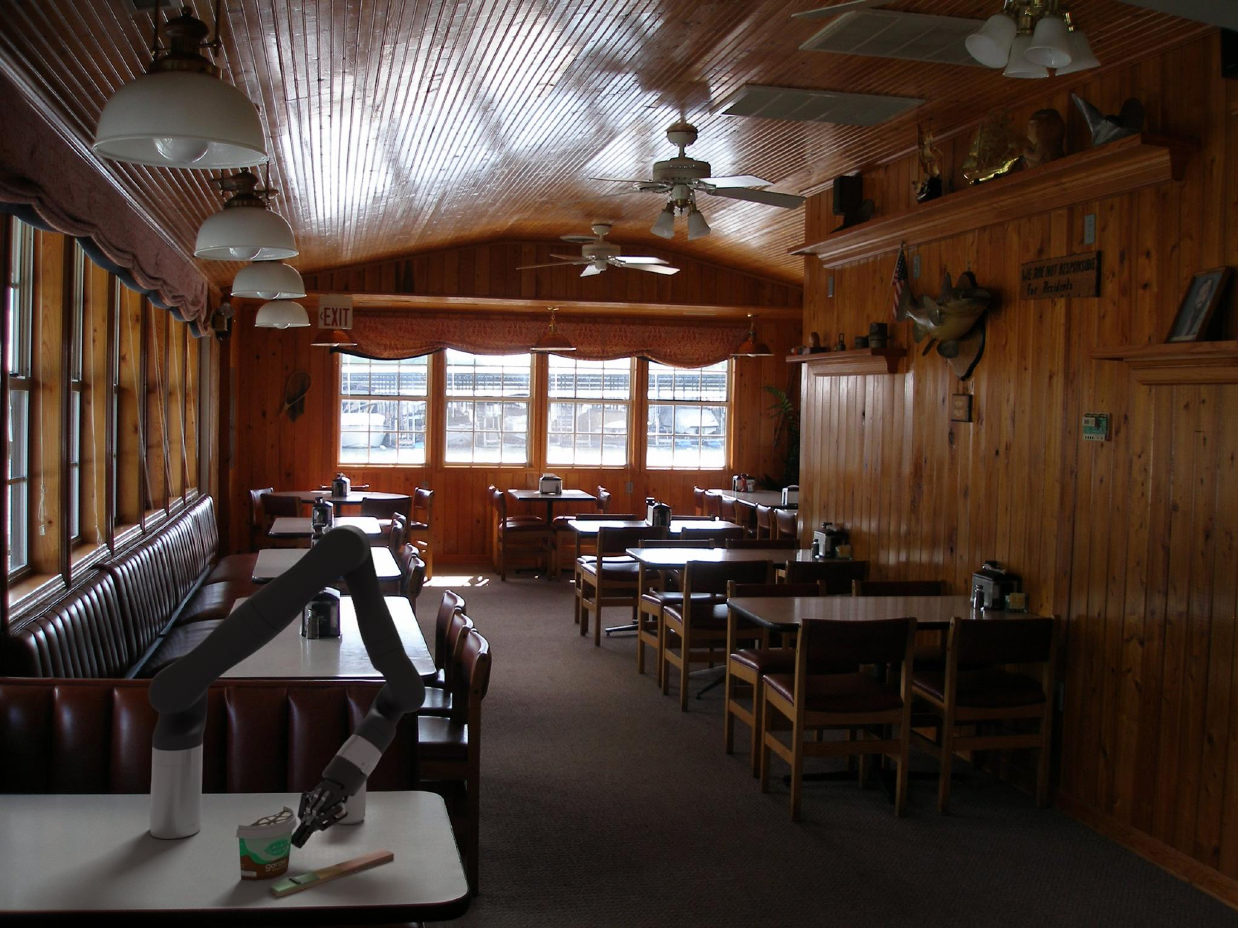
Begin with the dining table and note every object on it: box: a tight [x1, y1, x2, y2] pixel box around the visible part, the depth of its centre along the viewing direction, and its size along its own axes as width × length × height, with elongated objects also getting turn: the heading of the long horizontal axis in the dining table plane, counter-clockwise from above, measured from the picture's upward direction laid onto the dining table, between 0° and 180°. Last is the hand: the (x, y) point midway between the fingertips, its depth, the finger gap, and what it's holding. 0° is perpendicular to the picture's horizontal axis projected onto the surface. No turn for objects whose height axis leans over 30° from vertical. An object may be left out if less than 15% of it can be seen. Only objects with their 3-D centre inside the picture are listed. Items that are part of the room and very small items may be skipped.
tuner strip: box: [268, 848, 395, 898], centre depth 192 cm, size 3×24×2 cm, turn 139°
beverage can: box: [337, 780, 367, 825], centre depth 220 cm, size 6×6×12 cm
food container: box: [235, 805, 298, 882], centre depth 192 cm, size 12×6×10 cm, turn 155°
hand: (294, 845), depth 196 cm, fingers closed
